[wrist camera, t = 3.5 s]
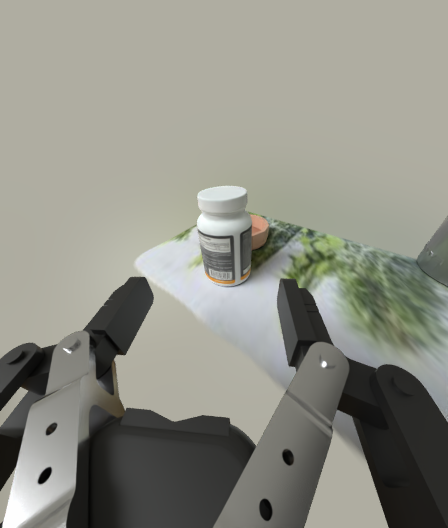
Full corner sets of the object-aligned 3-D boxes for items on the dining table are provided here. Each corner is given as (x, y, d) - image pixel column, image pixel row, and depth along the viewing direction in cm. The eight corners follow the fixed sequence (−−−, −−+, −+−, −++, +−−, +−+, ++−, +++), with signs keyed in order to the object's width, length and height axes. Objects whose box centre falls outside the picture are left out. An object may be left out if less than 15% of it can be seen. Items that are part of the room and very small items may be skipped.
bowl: (272, 231, 31) (274, 217, 29) (256, 256, 25) (257, 241, 23) (229, 224, 34) (228, 211, 32) (206, 245, 28) (204, 231, 27)
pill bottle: (233, 255, 25) (230, 181, 20) (260, 276, 21) (266, 191, 16) (198, 270, 23) (182, 191, 17) (220, 296, 19) (210, 206, 13)
